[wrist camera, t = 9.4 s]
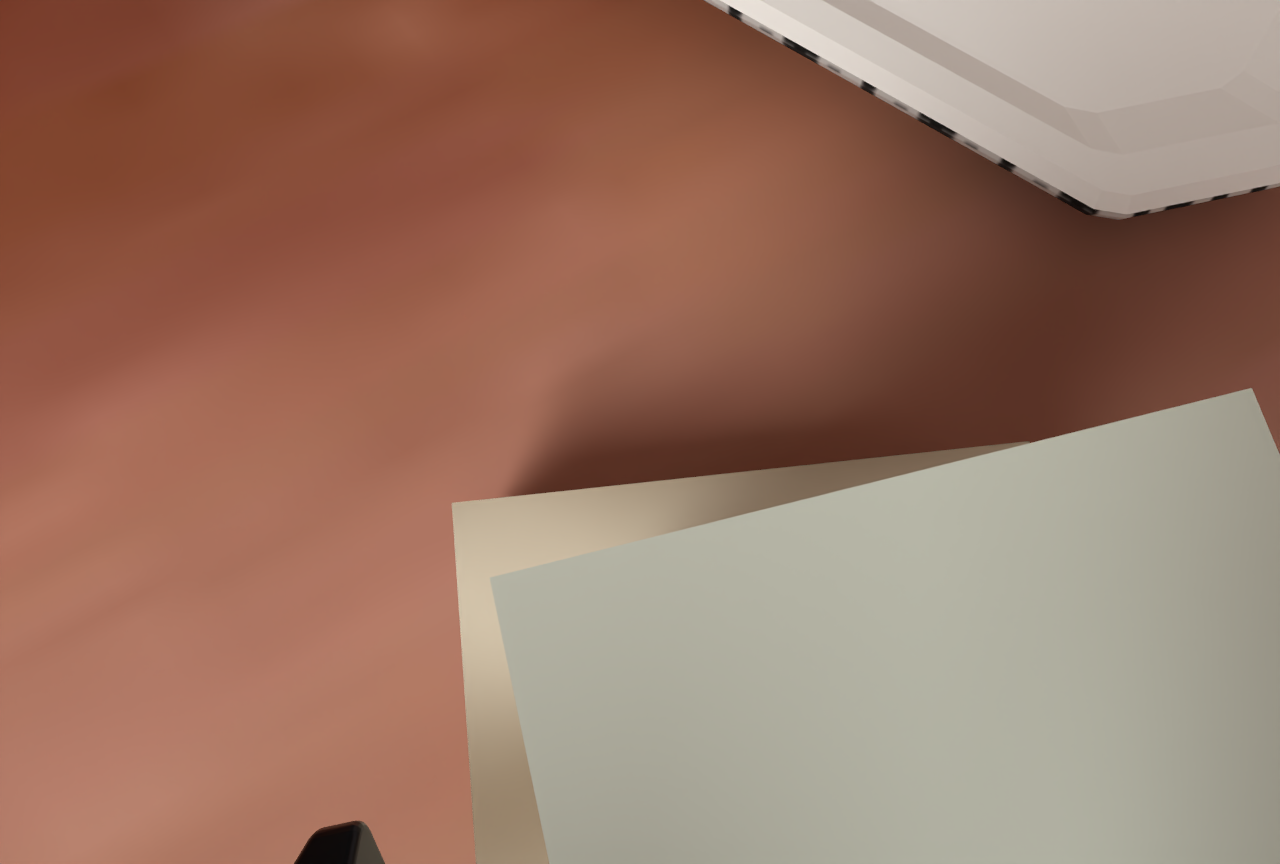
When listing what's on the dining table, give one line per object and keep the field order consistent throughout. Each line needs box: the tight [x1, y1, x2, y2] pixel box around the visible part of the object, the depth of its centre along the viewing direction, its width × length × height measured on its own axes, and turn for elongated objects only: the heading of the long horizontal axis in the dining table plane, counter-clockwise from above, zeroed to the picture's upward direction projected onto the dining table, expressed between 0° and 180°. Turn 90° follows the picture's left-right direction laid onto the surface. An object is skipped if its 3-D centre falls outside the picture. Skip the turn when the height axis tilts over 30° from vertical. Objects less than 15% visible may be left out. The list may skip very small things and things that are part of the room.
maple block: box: [452, 441, 1030, 864], centre depth 19 cm, size 10×10×4 cm
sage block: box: [490, 388, 1280, 864], centre depth 11 cm, size 5×5×11 cm
